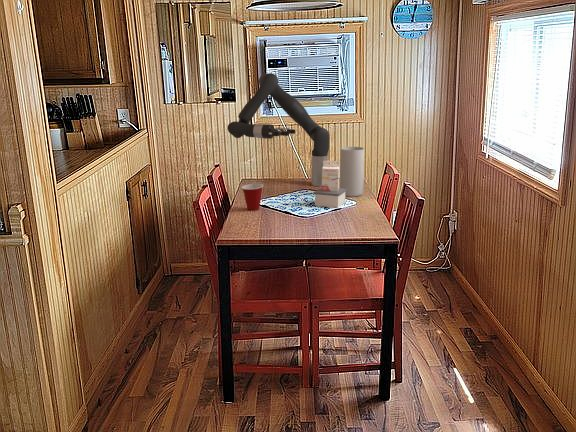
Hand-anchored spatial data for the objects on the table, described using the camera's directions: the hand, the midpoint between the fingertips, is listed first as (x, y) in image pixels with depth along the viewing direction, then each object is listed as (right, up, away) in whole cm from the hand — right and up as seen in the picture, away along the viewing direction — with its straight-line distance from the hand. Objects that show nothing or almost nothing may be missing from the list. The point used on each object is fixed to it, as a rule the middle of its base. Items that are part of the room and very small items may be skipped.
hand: (292, 132), depth 307 cm
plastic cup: (-19, -40, -16) cm, 47 cm away
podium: (+19, -37, -7) cm, 42 cm away
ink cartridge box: (+19, -31, -9) cm, 37 cm away
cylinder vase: (+32, -32, +13) cm, 47 cm away
